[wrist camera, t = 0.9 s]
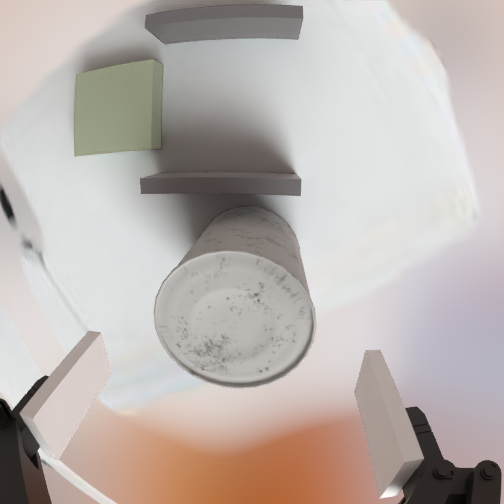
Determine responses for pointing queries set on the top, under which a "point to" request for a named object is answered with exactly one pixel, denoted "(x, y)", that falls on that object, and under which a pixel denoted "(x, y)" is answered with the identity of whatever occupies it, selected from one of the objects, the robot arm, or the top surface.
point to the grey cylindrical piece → (238, 302)
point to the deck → (118, 108)
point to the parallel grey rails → (225, 27)
